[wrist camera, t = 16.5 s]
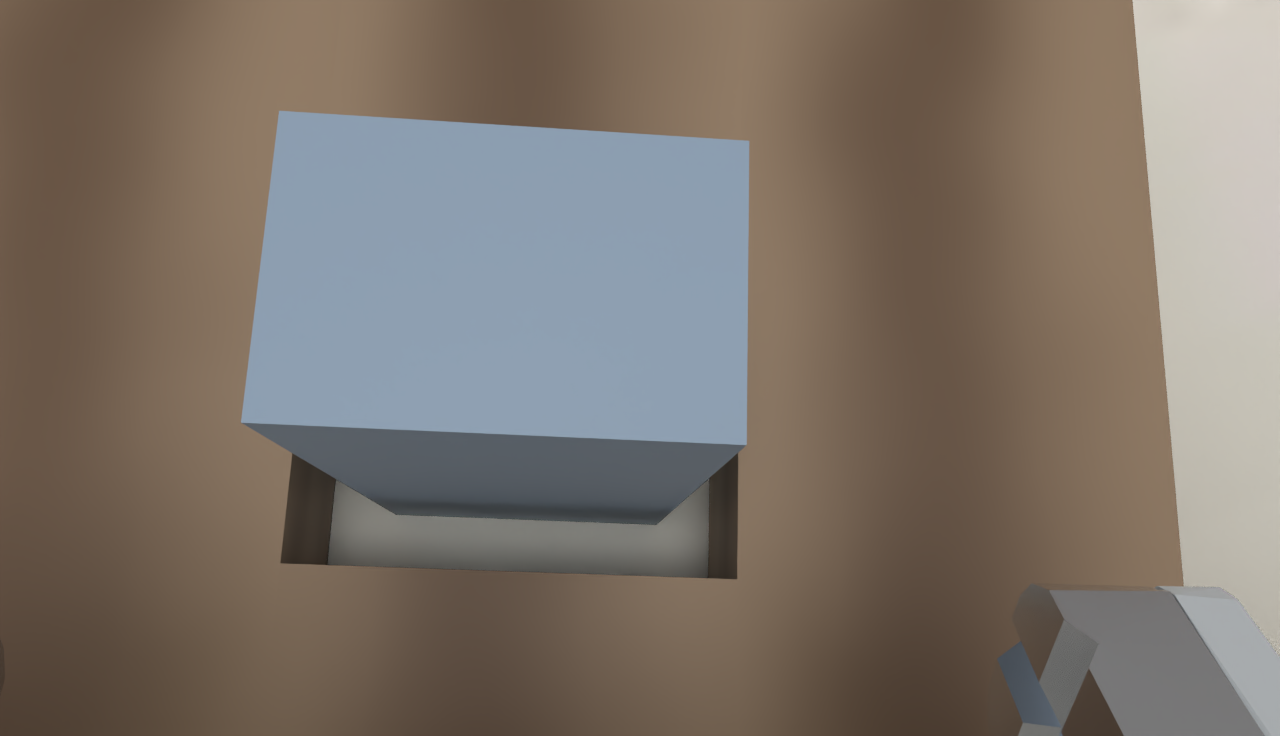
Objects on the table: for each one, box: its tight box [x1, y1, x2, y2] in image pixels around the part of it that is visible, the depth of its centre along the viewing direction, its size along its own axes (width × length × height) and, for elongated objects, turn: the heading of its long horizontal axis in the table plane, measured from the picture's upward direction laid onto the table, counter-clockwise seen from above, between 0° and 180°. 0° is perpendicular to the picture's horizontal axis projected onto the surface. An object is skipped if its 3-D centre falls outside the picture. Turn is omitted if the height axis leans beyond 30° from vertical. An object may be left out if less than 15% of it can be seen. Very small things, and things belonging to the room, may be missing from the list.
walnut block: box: [0, 0, 1184, 736], centre depth 17 cm, size 20×16×3 cm
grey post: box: [241, 111, 749, 525], centre depth 14 cm, size 4×3×9 cm, turn 88°
